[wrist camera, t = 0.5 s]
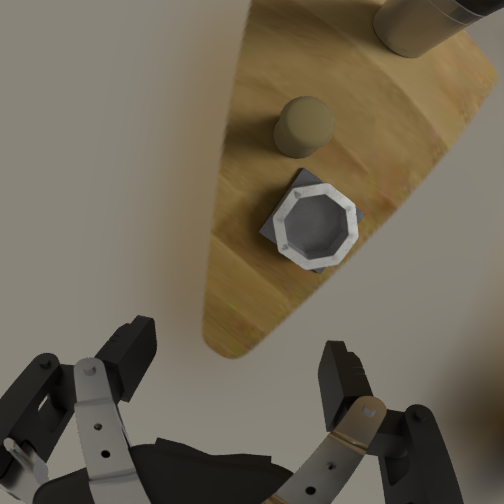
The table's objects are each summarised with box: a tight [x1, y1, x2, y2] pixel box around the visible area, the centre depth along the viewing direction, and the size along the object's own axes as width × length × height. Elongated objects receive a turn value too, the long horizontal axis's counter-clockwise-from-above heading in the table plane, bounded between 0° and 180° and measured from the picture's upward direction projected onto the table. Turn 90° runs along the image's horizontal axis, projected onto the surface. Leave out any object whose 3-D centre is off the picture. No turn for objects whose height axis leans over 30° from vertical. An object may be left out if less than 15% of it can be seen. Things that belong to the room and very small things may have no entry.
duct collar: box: [259, 168, 365, 274], centre depth 33 cm, size 10×10×4 cm
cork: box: [273, 96, 335, 159], centre depth 26 cm, size 6×6×11 cm
